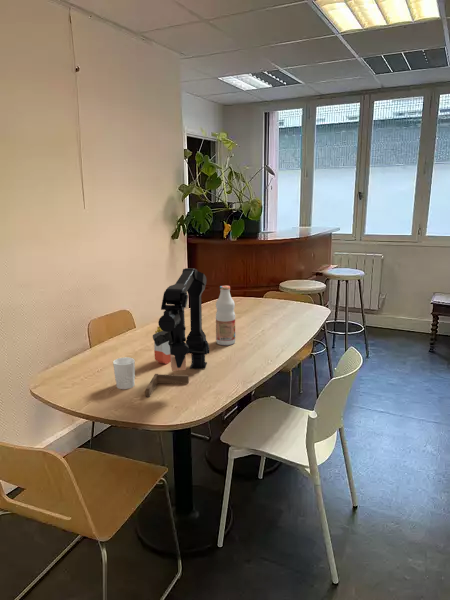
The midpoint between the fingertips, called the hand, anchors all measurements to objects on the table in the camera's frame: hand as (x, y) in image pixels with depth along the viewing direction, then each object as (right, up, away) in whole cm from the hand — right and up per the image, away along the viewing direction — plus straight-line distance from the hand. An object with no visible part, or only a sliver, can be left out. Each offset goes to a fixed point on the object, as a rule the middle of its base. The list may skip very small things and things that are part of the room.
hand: (178, 364), depth 159 cm
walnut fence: (-4, -10, +6) cm, 12 cm away
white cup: (-21, -9, +9) cm, 25 cm away
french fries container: (-9, -4, +34) cm, 35 cm away
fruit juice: (+17, +2, +57) cm, 59 cm away
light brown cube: (0, -1, 0) cm, 1 cm away
